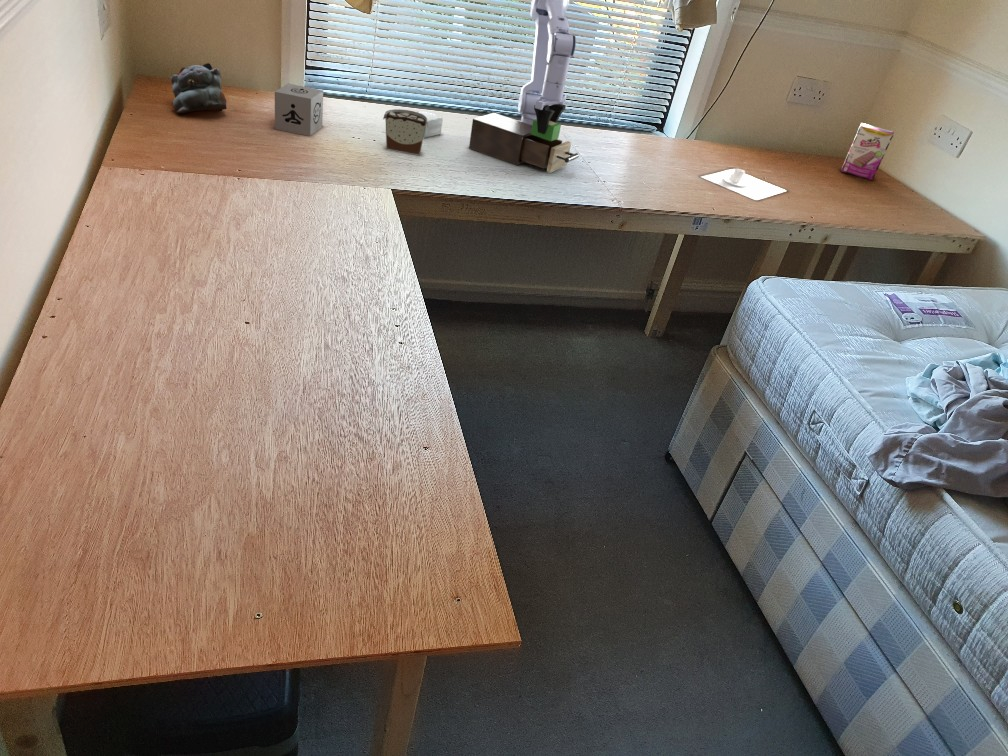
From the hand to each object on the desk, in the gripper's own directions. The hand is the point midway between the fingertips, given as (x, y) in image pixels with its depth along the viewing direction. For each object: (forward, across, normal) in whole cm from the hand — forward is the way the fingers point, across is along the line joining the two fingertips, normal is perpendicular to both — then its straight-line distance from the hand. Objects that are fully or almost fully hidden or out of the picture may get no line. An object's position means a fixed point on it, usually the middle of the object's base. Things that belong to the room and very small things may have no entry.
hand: (545, 131), depth 213 cm
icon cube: (+10, -34, +59) cm, 69 cm away
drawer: (+9, +1, 0) cm, 9 cm away
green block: (+1, 0, 0) cm, 1 cm away
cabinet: (+10, +1, +13) cm, 16 cm away
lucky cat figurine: (+10, -48, +83) cm, 97 cm away
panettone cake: (+10, -22, +31) cm, 40 cm away
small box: (+10, -5, +37) cm, 39 cm away
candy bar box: (+10, +98, -76) cm, 124 cm away
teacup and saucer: (+10, +46, -49) cm, 68 cm away
